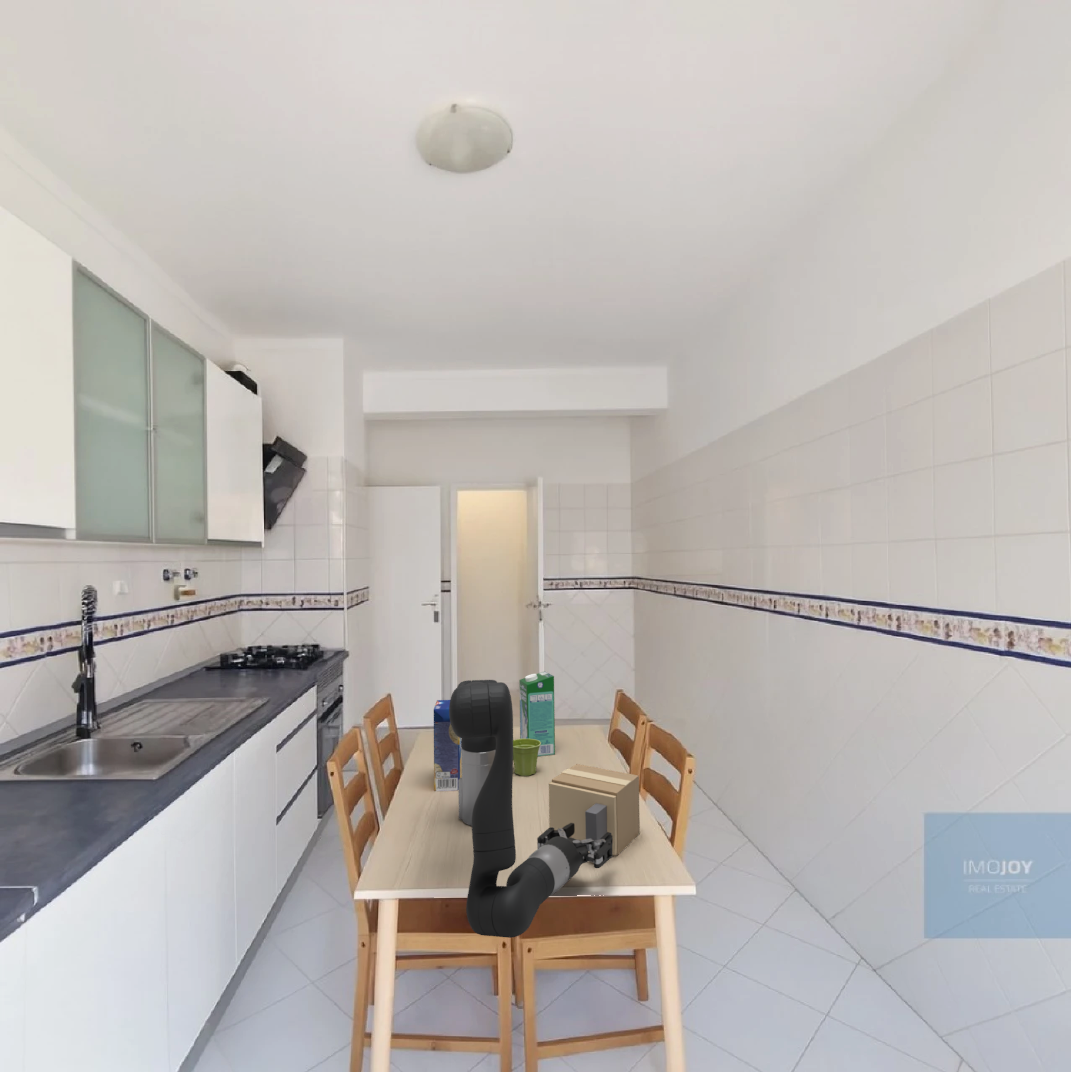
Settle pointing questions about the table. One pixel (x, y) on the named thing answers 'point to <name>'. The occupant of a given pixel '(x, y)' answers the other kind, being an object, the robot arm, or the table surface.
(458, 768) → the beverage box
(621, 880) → the table surface
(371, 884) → the table surface
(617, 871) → the table surface
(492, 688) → the robot arm
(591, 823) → the front flap
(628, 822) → the carton
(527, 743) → the plant pot
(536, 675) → the milk carton
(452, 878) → the table surface
